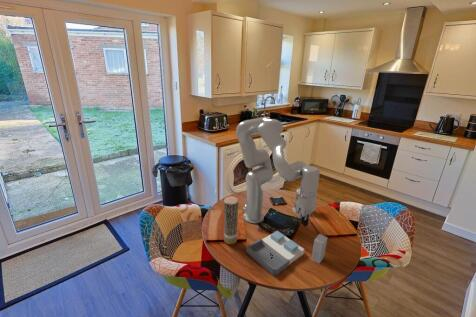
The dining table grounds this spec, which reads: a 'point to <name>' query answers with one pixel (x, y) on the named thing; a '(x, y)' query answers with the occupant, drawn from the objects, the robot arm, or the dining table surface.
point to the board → (282, 249)
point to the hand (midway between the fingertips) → (304, 224)
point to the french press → (296, 200)
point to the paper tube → (230, 219)
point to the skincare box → (319, 248)
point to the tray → (266, 258)
